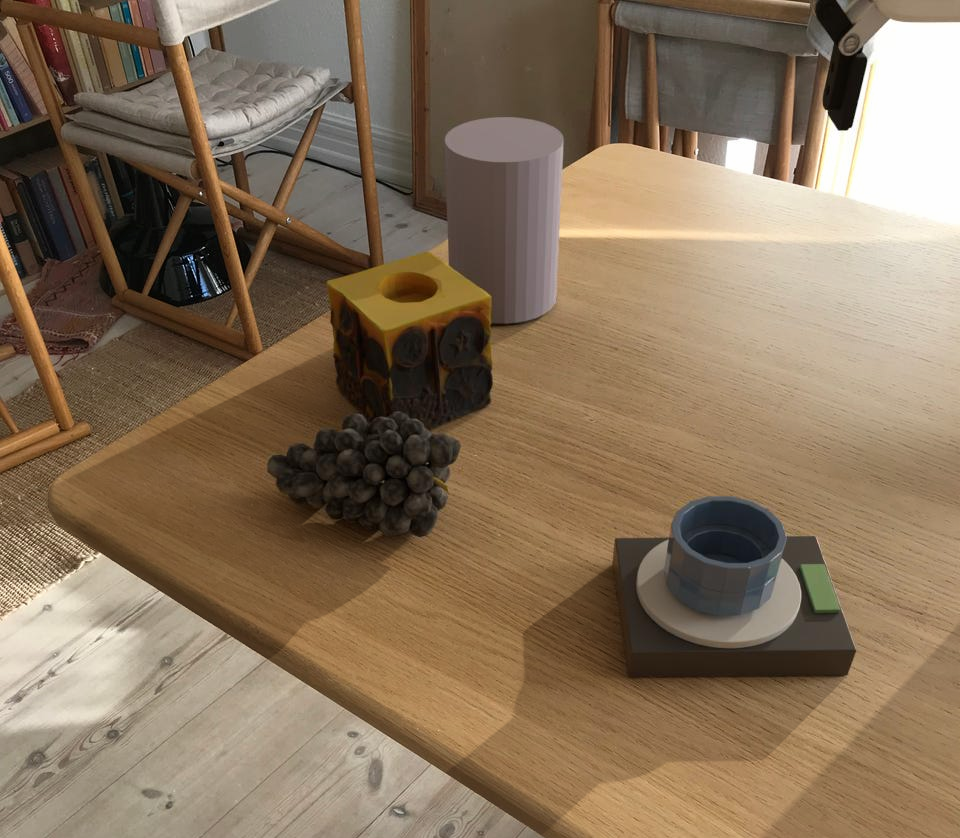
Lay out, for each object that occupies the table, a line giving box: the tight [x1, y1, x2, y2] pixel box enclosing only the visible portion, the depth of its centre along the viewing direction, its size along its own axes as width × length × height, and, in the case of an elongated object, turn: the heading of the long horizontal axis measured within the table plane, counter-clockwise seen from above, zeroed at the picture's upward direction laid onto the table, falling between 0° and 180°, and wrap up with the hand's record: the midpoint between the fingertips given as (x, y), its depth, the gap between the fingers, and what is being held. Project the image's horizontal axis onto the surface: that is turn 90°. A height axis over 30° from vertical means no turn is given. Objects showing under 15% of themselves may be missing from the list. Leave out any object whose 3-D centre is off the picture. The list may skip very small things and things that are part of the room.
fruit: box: [266, 411, 462, 538], centre depth 76 cm, size 9×8×15 cm
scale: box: [611, 535, 857, 678], centre depth 69 cm, size 14×11×3 cm
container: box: [444, 116, 565, 326], centre depth 95 cm, size 10×10×15 cm
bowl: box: [664, 495, 788, 615], centre depth 66 cm, size 7×7×4 cm
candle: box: [325, 251, 494, 430], centre depth 85 cm, size 10×10×10 cm
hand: (919, 121), depth 62 cm, fingers open, 9 cm apart
